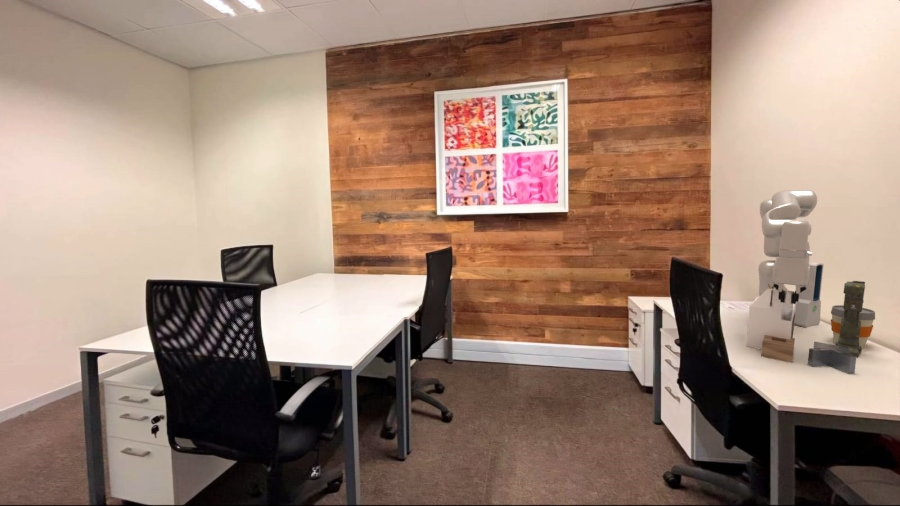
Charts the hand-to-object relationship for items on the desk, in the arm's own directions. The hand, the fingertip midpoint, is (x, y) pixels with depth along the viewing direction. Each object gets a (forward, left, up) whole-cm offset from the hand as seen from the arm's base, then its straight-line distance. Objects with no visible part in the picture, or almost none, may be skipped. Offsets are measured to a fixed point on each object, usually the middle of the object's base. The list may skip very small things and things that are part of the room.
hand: (788, 302), depth 145 cm
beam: (-1, -2, -21) cm, 21 cm away
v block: (-1, +13, -21) cm, 25 cm away
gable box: (-15, -5, -22) cm, 27 cm away
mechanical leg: (-21, +18, -21) cm, 35 cm away
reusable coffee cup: (-33, +19, -22) cm, 43 cm away
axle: (0, 0, -7) cm, 7 cm away
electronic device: (-57, +5, -22) cm, 61 cm away
